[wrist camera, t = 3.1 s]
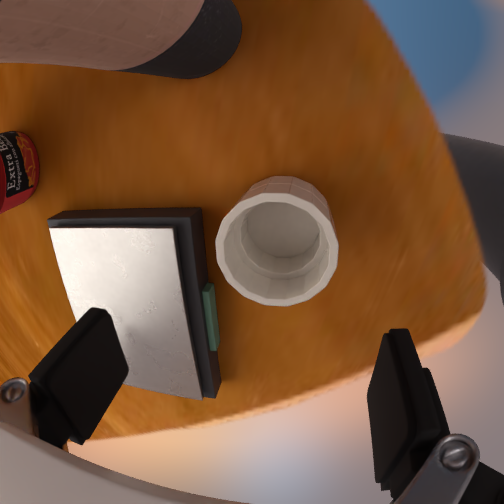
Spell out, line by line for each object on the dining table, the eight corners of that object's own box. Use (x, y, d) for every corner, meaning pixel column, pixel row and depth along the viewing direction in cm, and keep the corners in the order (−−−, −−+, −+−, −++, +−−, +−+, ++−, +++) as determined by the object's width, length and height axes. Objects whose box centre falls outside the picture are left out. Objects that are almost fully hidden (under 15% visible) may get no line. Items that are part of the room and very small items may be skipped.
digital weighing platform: (176, 225, 21) (172, 228, 21) (204, 396, 28) (202, 400, 27) (53, 225, 23) (48, 228, 23) (101, 374, 30) (99, 377, 29)
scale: (209, 207, 23) (198, 217, 21) (227, 382, 30) (221, 399, 28) (63, 210, 25) (46, 219, 23) (107, 360, 33) (97, 373, 31)
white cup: (333, 175, 21) (341, 195, 16) (328, 266, 23) (332, 308, 18) (234, 174, 22) (211, 192, 17) (239, 263, 24) (220, 302, 19)
